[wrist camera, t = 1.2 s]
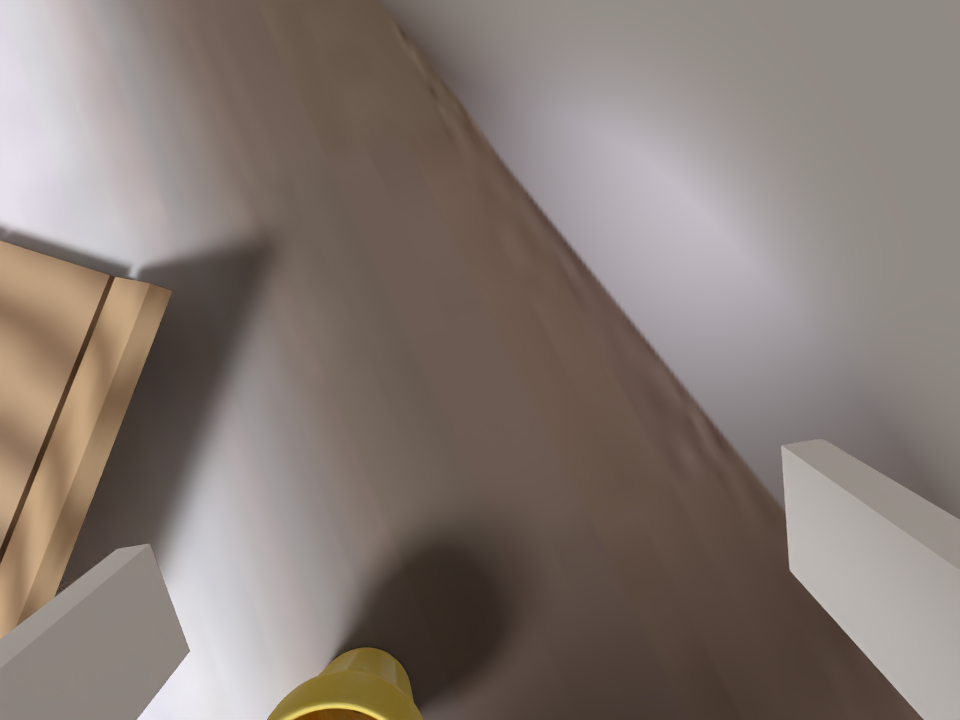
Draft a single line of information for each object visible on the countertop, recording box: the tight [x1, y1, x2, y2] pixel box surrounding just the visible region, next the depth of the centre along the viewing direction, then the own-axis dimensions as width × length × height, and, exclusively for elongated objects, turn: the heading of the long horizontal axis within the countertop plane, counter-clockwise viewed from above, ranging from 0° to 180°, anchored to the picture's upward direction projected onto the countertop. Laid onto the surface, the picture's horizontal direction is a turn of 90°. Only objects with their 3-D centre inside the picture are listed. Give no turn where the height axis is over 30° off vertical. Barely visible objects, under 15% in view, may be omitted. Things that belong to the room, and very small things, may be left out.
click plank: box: [0, 277, 172, 639], centre depth 31 cm, size 26×9×1 cm
